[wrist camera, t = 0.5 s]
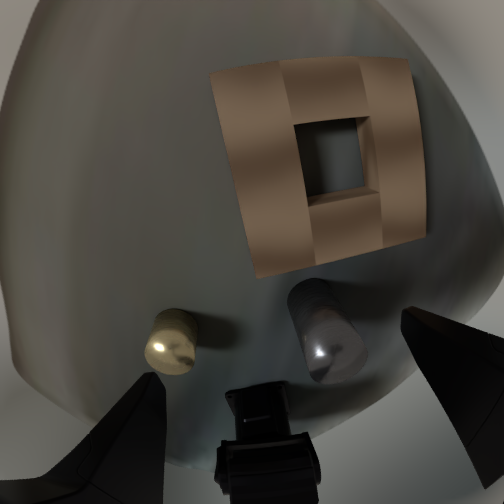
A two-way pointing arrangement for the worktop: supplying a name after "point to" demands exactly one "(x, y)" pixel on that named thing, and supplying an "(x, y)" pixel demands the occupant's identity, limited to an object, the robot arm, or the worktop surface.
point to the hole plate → (289, 166)
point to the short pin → (172, 342)
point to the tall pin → (325, 333)
